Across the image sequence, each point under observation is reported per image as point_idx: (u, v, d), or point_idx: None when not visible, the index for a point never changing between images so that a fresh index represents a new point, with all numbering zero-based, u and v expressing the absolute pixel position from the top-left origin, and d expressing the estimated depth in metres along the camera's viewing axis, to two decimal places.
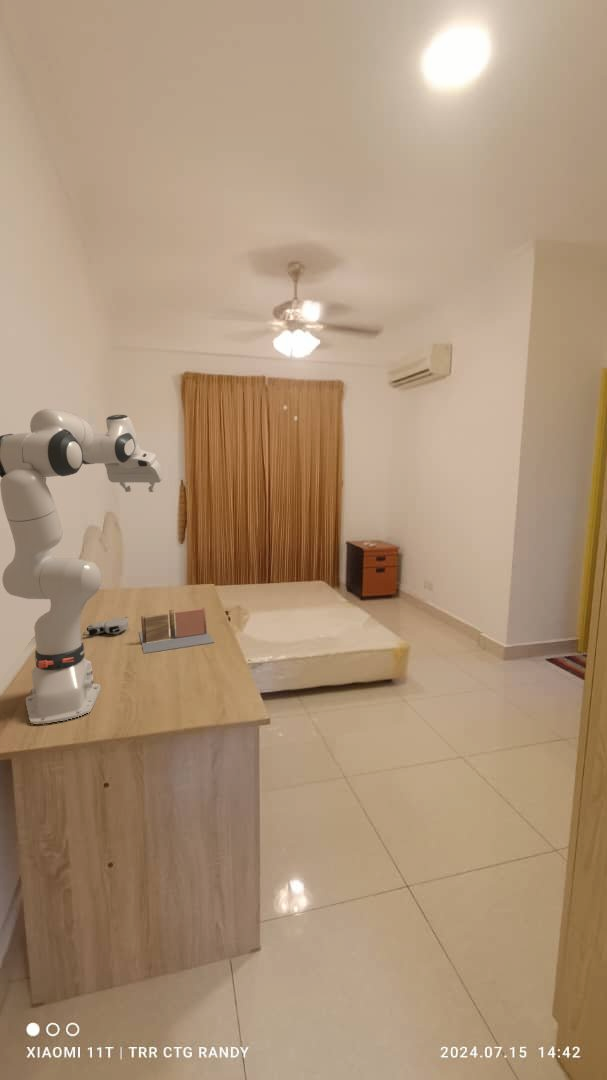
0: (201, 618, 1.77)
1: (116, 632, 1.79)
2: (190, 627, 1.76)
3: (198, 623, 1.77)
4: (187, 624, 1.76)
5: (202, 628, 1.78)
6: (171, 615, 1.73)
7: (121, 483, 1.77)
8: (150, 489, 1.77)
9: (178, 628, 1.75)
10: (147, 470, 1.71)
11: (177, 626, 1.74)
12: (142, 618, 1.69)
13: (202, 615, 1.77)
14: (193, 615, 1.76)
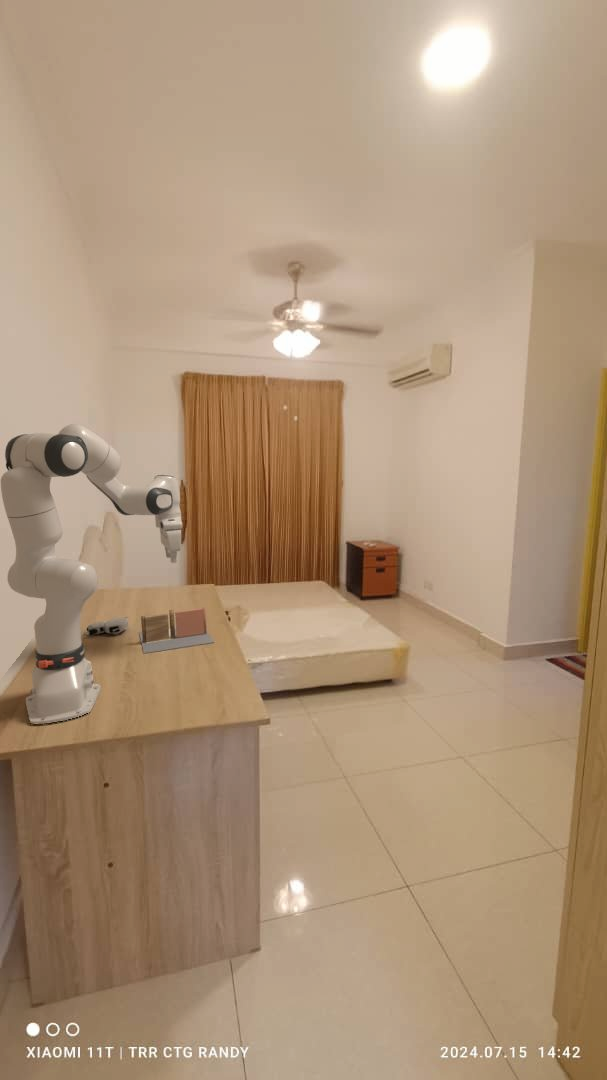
0: (201, 618, 1.77)
1: (116, 632, 1.79)
2: (190, 627, 1.76)
3: (198, 623, 1.77)
4: (187, 624, 1.76)
5: (202, 628, 1.78)
6: (171, 615, 1.73)
7: None
8: (170, 558, 1.65)
9: (178, 628, 1.75)
10: None
11: (177, 626, 1.74)
12: (142, 618, 1.69)
13: (202, 615, 1.77)
14: (193, 615, 1.76)
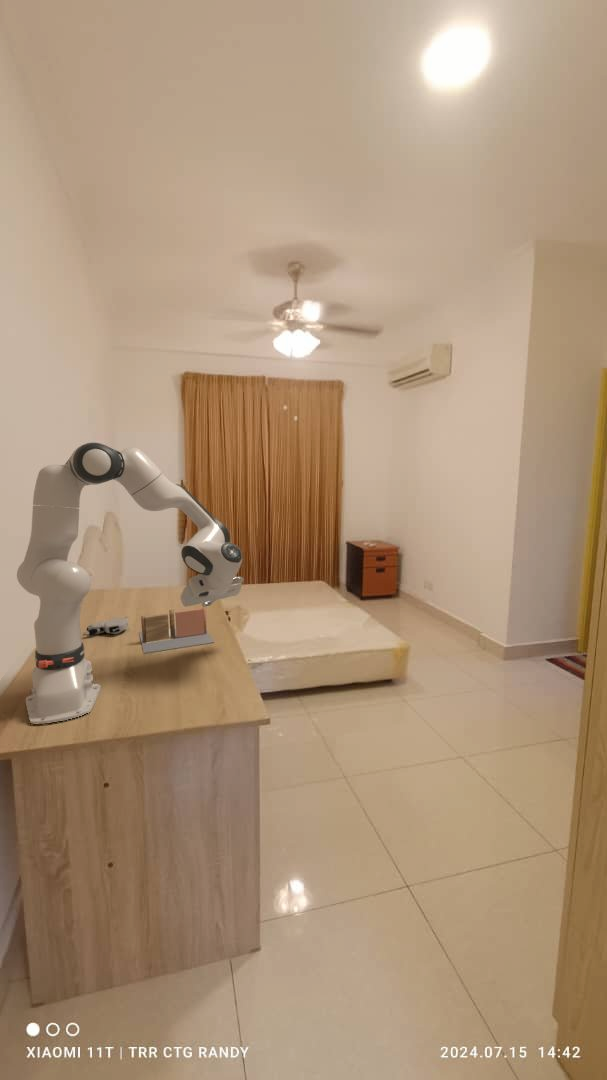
0: (201, 618, 1.77)
1: (116, 632, 1.79)
2: (190, 627, 1.76)
3: (198, 623, 1.77)
4: (187, 624, 1.76)
5: (202, 628, 1.78)
6: (171, 615, 1.73)
7: None
8: None
9: (178, 628, 1.75)
10: None
11: (177, 626, 1.74)
12: (142, 618, 1.69)
13: (202, 615, 1.77)
14: (193, 615, 1.76)
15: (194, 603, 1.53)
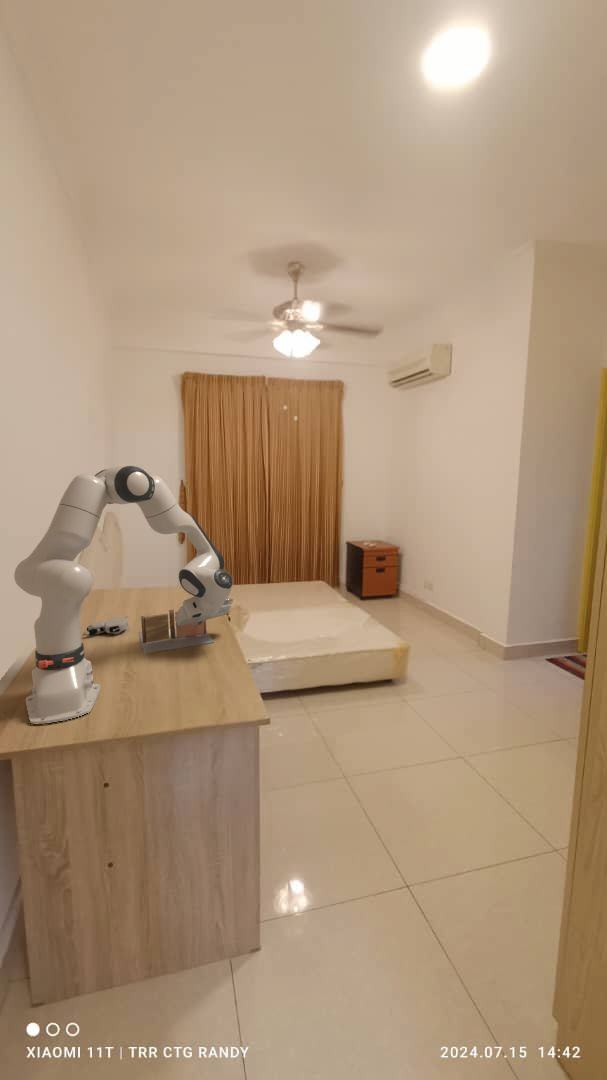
0: None
1: (116, 632, 1.79)
2: (190, 627, 1.76)
3: None
4: (187, 624, 1.76)
5: (202, 628, 1.78)
6: (171, 615, 1.73)
7: None
8: None
9: (178, 628, 1.75)
10: None
11: (177, 626, 1.74)
12: (142, 618, 1.69)
13: None
14: None
15: (187, 623, 1.68)
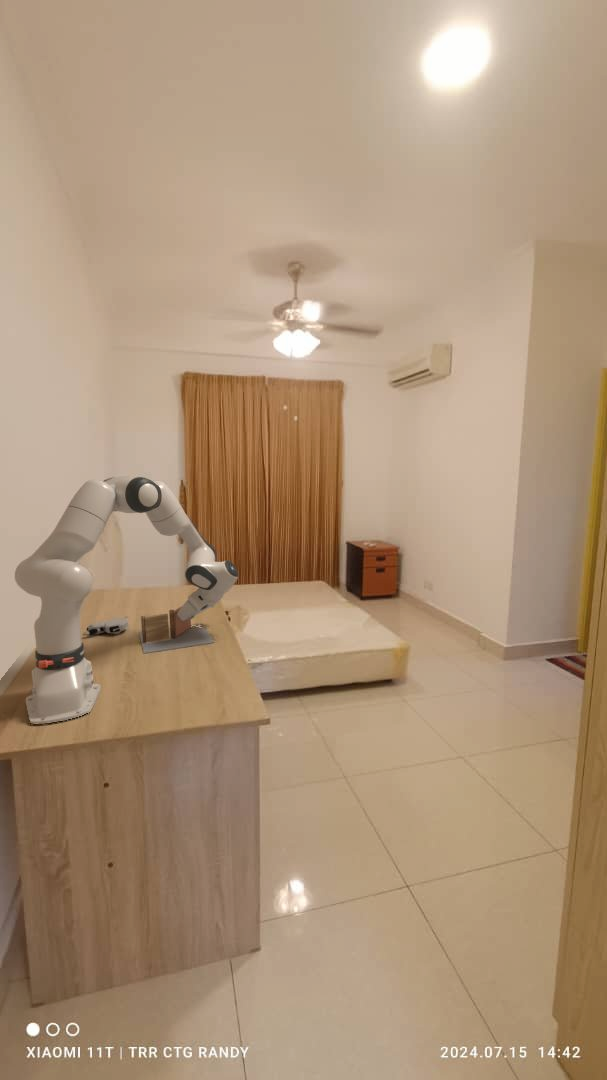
0: None
1: (116, 632, 1.79)
2: (182, 623, 1.80)
3: None
4: (181, 621, 1.79)
5: (189, 622, 1.85)
6: (171, 615, 1.73)
7: None
8: None
9: (176, 627, 1.76)
10: None
11: (176, 625, 1.76)
12: (142, 618, 1.69)
13: None
14: None
15: (189, 617, 1.74)
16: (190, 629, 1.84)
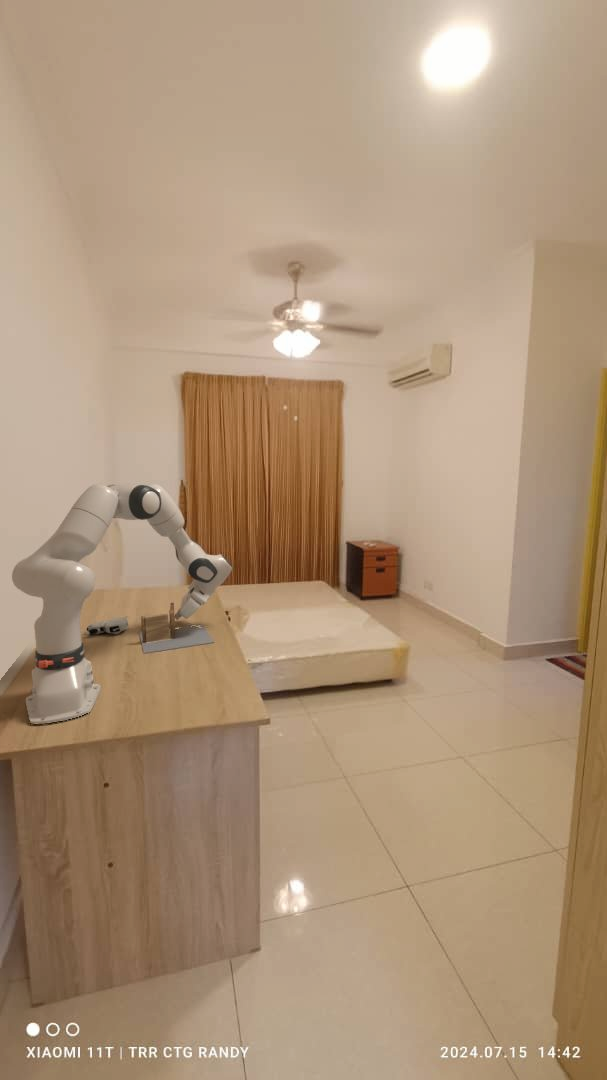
0: None
1: (116, 632, 1.79)
2: (174, 623, 1.80)
3: (174, 618, 1.83)
4: None
5: None
6: (171, 615, 1.73)
7: (180, 607, 1.85)
8: (176, 614, 1.82)
9: None
10: None
11: None
12: (142, 618, 1.69)
13: None
14: None
15: None
16: (190, 629, 1.84)
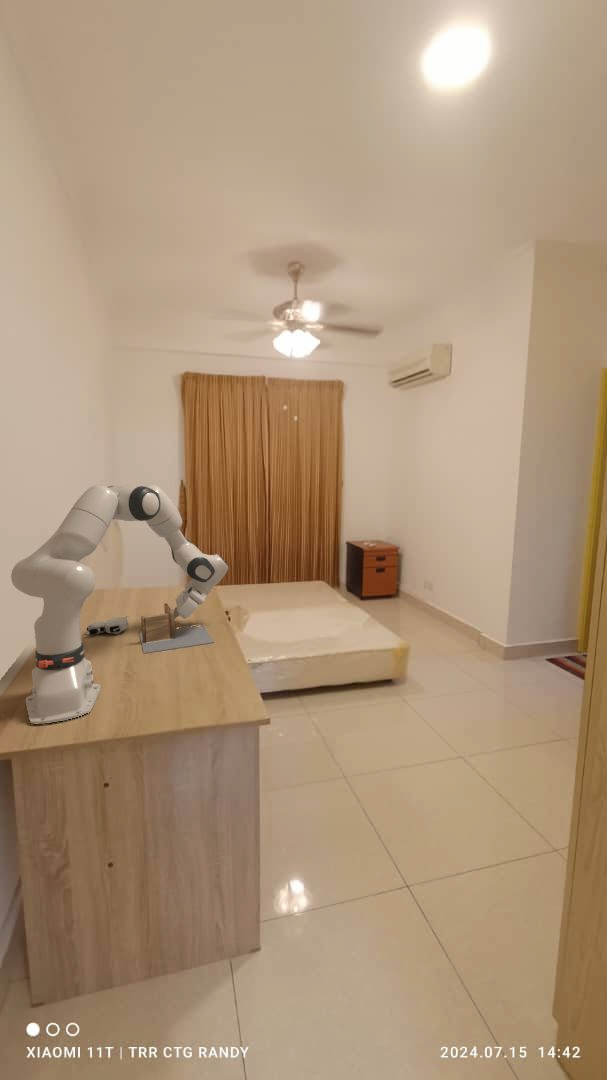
0: None
1: (117, 632, 1.79)
2: None
3: None
4: None
5: None
6: (171, 615, 1.73)
7: (176, 607, 1.85)
8: None
9: None
10: None
11: None
12: (142, 618, 1.69)
13: None
14: None
15: None
16: (190, 629, 1.84)
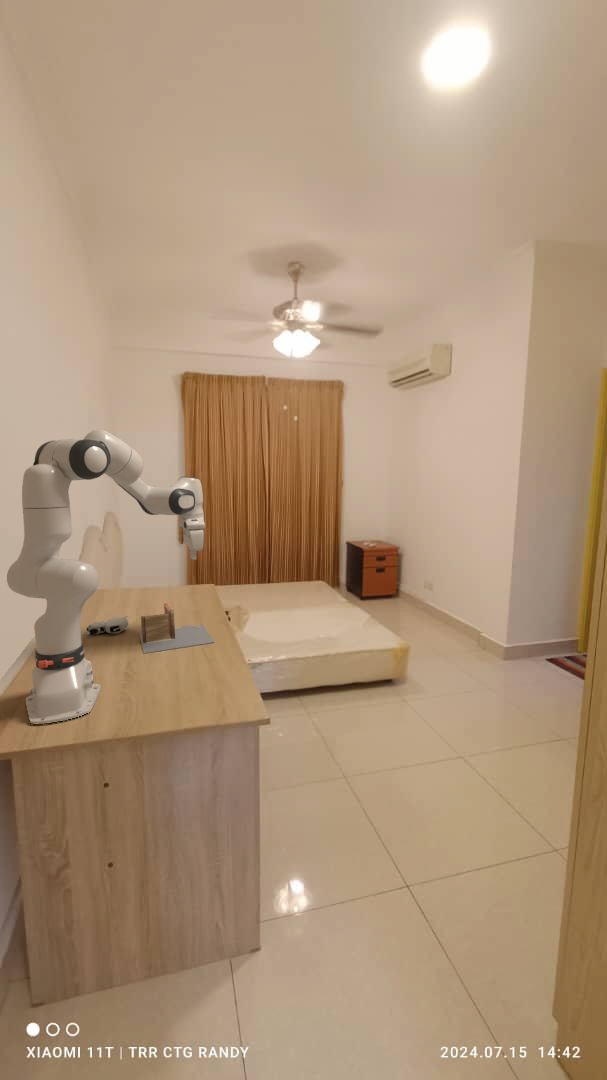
0: None
1: (117, 631, 1.80)
2: None
3: None
4: None
5: None
6: (171, 615, 1.73)
7: (189, 547, 1.75)
8: (191, 556, 1.73)
9: None
10: None
11: None
12: (142, 618, 1.69)
13: None
14: None
15: None
16: (190, 629, 1.84)
